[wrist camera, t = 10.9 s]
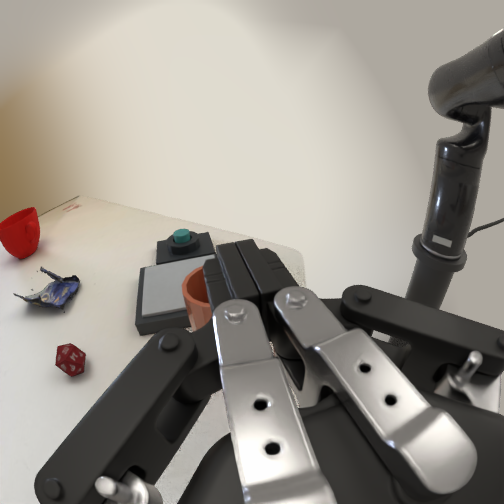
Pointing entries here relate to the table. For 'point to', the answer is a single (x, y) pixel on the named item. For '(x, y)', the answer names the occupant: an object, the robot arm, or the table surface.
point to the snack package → (54, 291)
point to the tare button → (181, 236)
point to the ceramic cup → (21, 233)
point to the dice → (70, 359)
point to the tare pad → (184, 248)
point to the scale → (164, 295)
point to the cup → (196, 299)
